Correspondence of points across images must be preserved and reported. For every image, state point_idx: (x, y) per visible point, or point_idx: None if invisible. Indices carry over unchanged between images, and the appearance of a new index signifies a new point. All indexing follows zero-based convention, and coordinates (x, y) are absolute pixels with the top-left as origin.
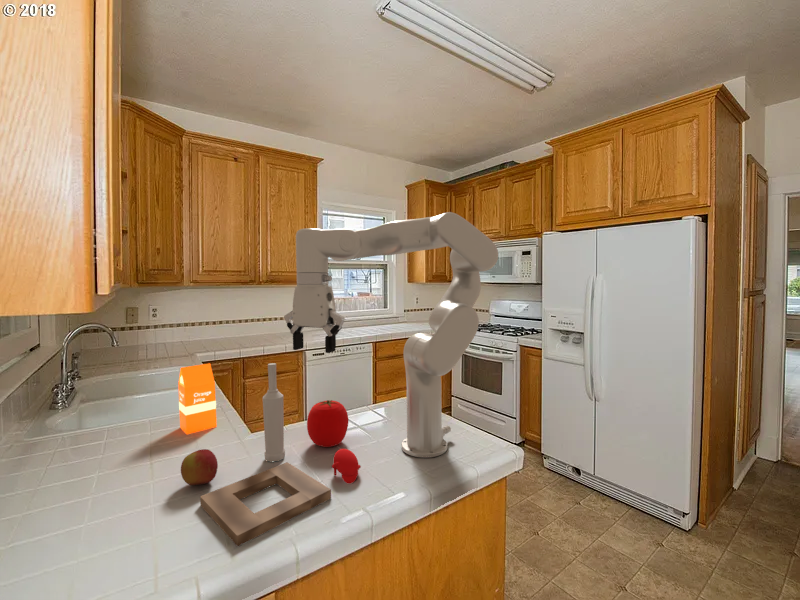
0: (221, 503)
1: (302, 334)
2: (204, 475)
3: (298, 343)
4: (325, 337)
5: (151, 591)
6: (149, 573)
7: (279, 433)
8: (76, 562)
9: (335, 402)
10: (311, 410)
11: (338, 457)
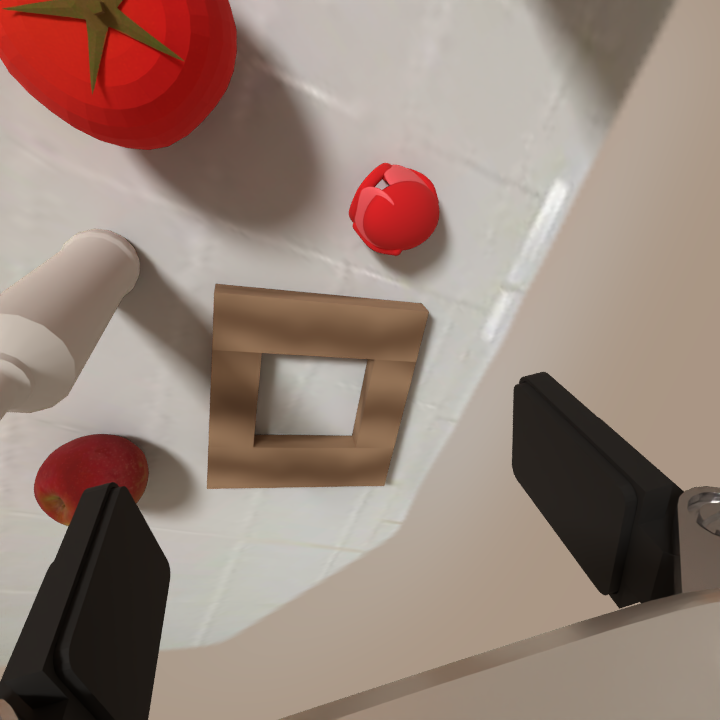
0: (270, 471)
1: (76, 649)
2: (147, 480)
3: (145, 593)
4: (603, 591)
5: (359, 555)
6: (324, 552)
7: (117, 294)
8: (218, 603)
9: None
10: (67, 110)
11: (394, 243)
